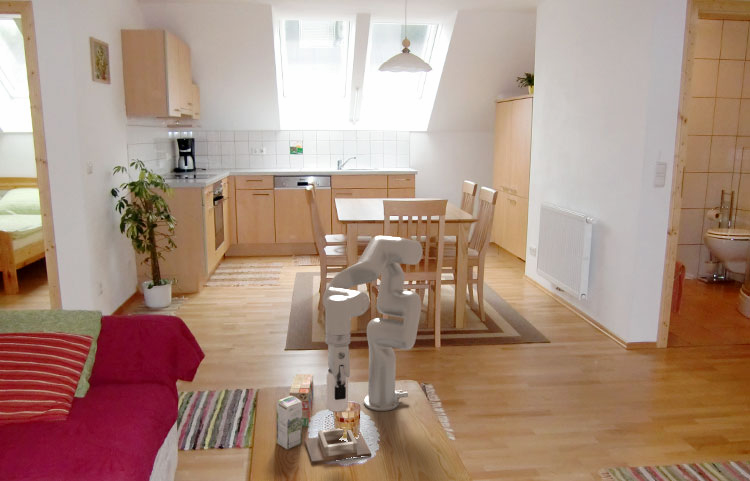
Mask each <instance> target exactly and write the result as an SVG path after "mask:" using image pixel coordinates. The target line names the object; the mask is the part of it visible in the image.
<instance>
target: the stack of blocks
mask: <svg viewBox="0 0 750 481" xmlns="http://www.w3.org/2000/svg"><path fill="white" fill-rule="evenodd" d="M289 396H294V397H296V398H297V399H299V400H300V401H301V402H302V427H309V426H308V425H310V424H309V423H310V422H309V421H310V420H311V416H312V406H313V404H314V373H310V374H309V373H305V374H303V373H300V374H299V373H296V375H295V376H294V377H293V379H292V384H291V387H290V390H289Z"/></svg>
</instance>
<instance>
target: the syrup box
mask: <svg viewBox="0 0 750 481" xmlns="http://www.w3.org/2000/svg"><path fill="white" fill-rule="evenodd" d="M302 439H303V426H302V402H301V401H300V400H299V399H297V398H296V397H294V396H290V395H289V396H286V397H284V398H281V399H278V400H276V443H277V444H278V445H279V446H281V447H282V448H284V449H286V450H287V451H288V450H291V449H292V448H294V447H297V446H299V445H301V444H302V443H303V440H302Z"/></svg>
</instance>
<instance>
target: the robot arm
mask: <svg viewBox="0 0 750 481" xmlns="http://www.w3.org/2000/svg"><path fill="white" fill-rule="evenodd" d="M422 246H423V245H422V244H421V243H420V242H419V241H418V240H413V239H409V238H405V237H398V236H387V235H375V236H374V237H373V238H371V239H370V241H369V242H368V243H367V246H366V247H365V249H364V251H363V252H362V254H361V256H360V257H359V259H358V261H357V262H356V263H355V264H352V265H350V266H349V267H347V268H345V269H343V270H341V271H340V272H338V273H337V274H336V275H334V277H333V278H332V279H331V281H330V282H329V283H328V286H327V287H326V289H325V291H324V293H323V297H322V305H323V307H324V309H325V314H324V315H325V316H324V317H325V319H324V320H325V322H324V323H325V325H324V329H325V330H324V332H325V335H324V336H325V338H324V340H325V341H324V342H325V344H327V347H328V348H327V364H328V370H329V369H330V371H331V373H332V375H333V377H334V378H335V381H336V387H335V400H340V399H345V398H346V382H345V381H346V379H345V375H346V376H347V377H348V378H349V377H351V362H350V361H351V359H350V348H349V344H351V339H352V338H351V335H352V333H351V332H352V327H351V326H352V318H356V317H359V316H362V315H364V314H365V313H366V312H367V310H369V307H370V297H369V295H368V294H367V293H365V292H364V291H361V290H356V289H355V290H354V289H349V288H352V287H355V286H360V285H365V284H369V283H373V282H375V281H377V280H378V279H379V278H380V282H379V289H378V292H377V298H376V304H375V305H376V310H377V311H378V313H380V314H382V315H385V316H386V315H387V316H391V317H398V318H402V319H403V321H402V320H395V319H391V318H390V319H389V318H384V317H375V318H372V319H371V320H370V321H369V322H368V323H367V326H366V338H367V343H368V394H367V395H366V396H365V397H364V399H363V404H364V406H365V407H366V408H368V409H370V410H374V411H379V412H385V411H386V412H387V411H390V410H391V411H392V410H395V409H396V408H397V407H399V405H400V399H402V398H408V397H409V394H408V393H409V392H408V391H403V390H402V389H399V390H396V370H397V369H396V366H397V365H396V363H397V358H396V357H397V356H396V354H395V351H394V349H397V350H405V351H409V350H411V349H412V348H414V345H415V344H416V340H417V334H418V328H419V323H420V317H421V312H422V299H421V296H420V294H418V293H417V292H415V291H411V290H406V289H405V290H404V287H405V280H406V275H405V272H404V270H403V268H402V267H401V264H404V265H411V266H412V265H418V264H419V262H420V261H421V260H422V258H423V252H424V250H423V247H422ZM338 374H340V376H338V377H337V375H338ZM339 378H340V381H339V382H338V379H339Z"/></svg>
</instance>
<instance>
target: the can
mask: <svg viewBox="0 0 750 481" xmlns="http://www.w3.org/2000/svg"><path fill="white" fill-rule="evenodd" d="M327 370H328V372H327V374H326V409H327V410H328V411H330V412H333V413H342V412H344V411H346V410H347V409H348V407H349V377H347V376H346V375H345V379H346V381H345V382H346V398H345V399H340V400H335V387H336V381H335V378H334V377H333V375H332V373H331V371H330V369H329V368H328V369H327ZM338 376H340V374H338V375H337V377H338ZM339 381H340V378H339V379H338V382H339Z"/></svg>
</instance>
